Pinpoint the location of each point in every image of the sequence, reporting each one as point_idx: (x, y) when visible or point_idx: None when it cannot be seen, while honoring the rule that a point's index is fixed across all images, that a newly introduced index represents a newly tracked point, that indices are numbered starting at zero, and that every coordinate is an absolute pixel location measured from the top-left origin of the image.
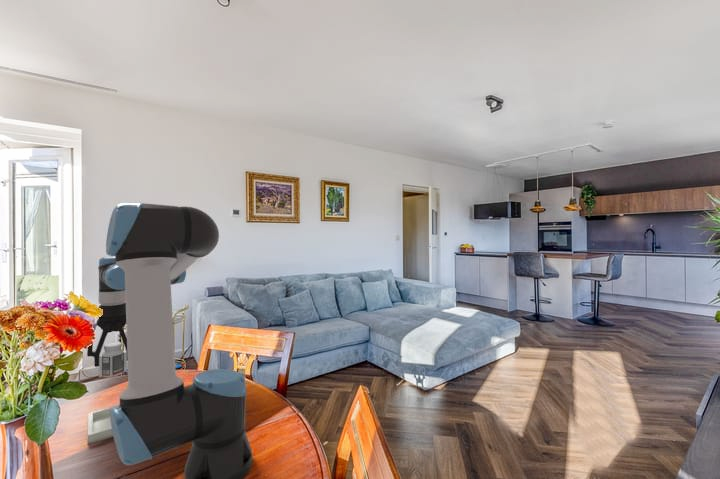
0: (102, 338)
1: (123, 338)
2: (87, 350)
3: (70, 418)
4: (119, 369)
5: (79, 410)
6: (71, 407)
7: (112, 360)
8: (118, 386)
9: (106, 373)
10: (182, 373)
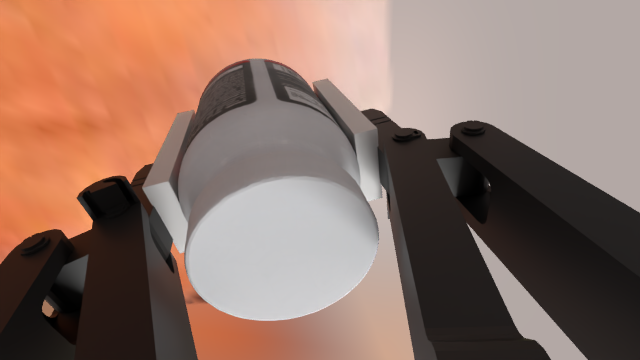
0: (466, 286)
1: (126, 331)
2: (526, 148)
3: (378, 16)
4: (208, 86)
5: (359, 76)
6: (385, 114)
7: (254, 88)
8: None
9: (288, 69)
10: None
